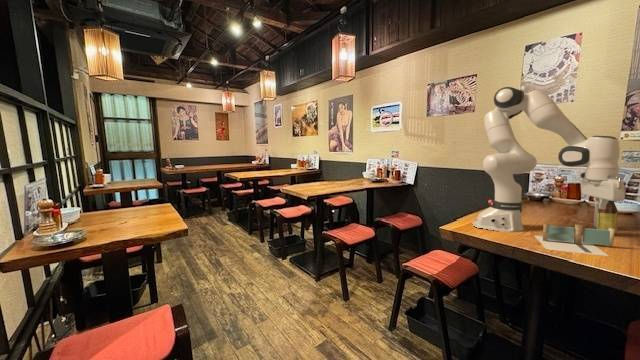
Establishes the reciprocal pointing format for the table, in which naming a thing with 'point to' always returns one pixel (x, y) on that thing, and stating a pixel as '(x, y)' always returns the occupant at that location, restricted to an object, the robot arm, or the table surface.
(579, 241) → the fixed fence
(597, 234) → the hinged panel
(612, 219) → the sauce bottle
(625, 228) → the table surface
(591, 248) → the card
